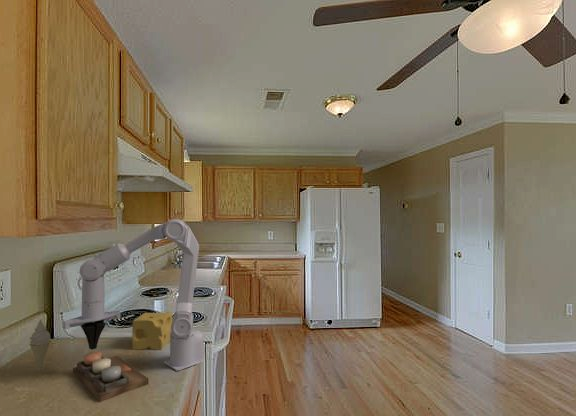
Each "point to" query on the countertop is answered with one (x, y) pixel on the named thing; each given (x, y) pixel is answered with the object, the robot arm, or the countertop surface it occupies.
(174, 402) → the countertop surface
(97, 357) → the terracotta button
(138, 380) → the button panel
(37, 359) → the ice cream cone
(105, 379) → the slate button
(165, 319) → the cheese
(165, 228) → the robot arm
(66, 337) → the countertop surface
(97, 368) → the cream button
